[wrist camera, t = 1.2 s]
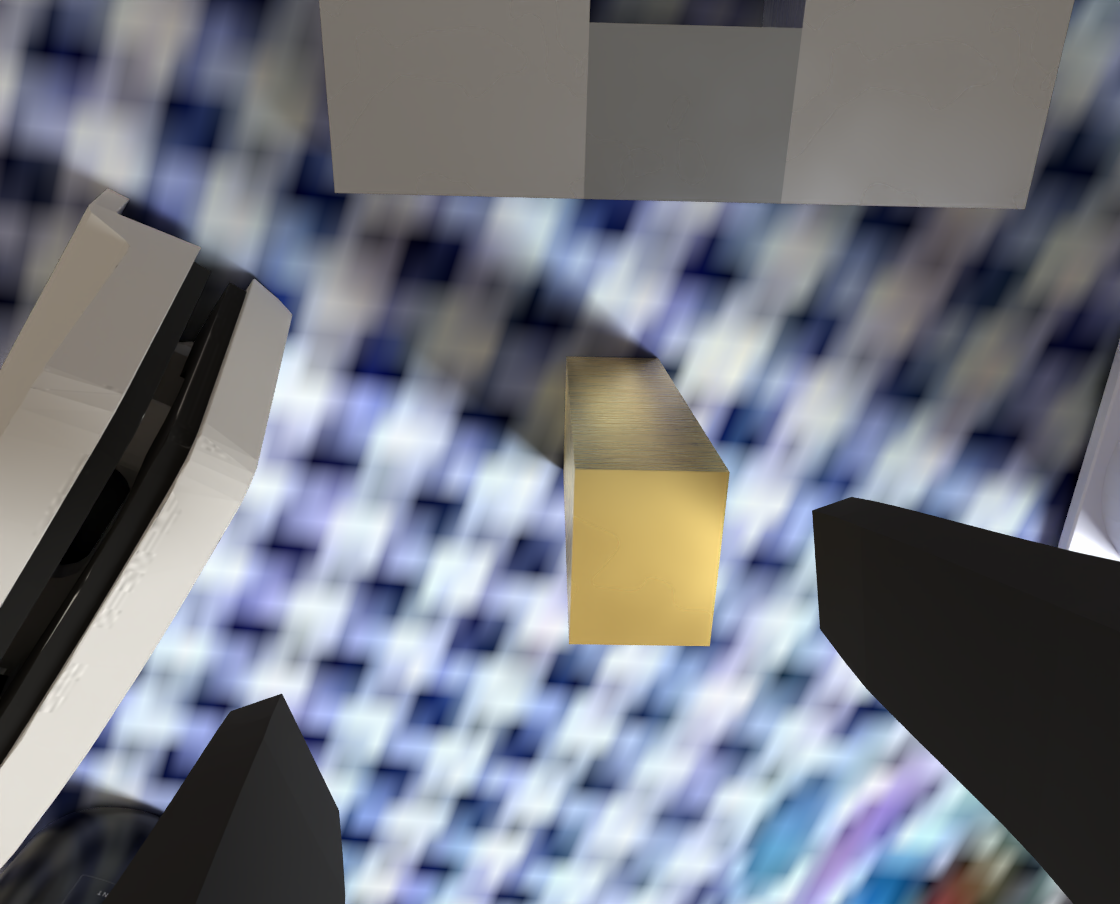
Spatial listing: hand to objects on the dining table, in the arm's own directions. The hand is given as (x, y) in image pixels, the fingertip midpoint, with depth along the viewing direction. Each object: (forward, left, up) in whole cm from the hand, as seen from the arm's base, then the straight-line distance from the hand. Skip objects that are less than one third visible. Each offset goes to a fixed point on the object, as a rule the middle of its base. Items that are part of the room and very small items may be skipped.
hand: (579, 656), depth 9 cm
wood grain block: (-1, 0, -10) cm, 10 cm away
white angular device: (+13, +3, -11) cm, 17 cm away
